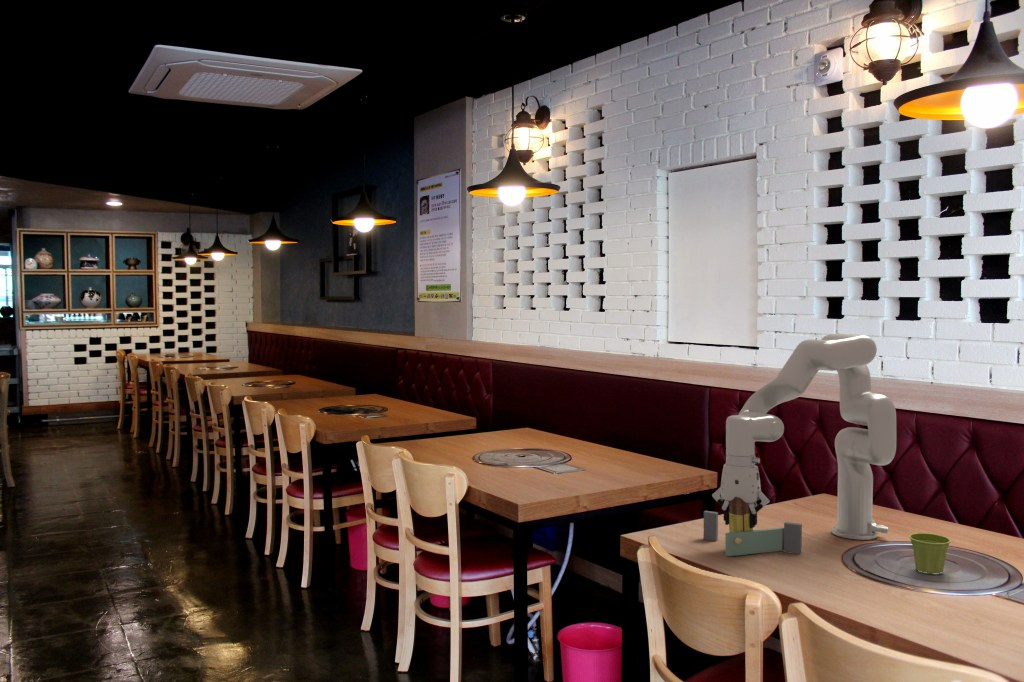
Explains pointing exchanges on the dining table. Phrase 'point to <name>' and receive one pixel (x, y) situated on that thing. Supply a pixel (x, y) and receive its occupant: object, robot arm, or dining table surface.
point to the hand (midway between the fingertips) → (740, 524)
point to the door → (754, 541)
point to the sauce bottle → (739, 515)
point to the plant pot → (929, 551)
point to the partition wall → (790, 532)
